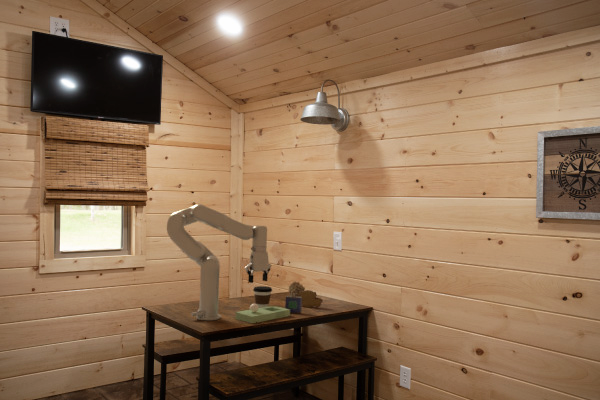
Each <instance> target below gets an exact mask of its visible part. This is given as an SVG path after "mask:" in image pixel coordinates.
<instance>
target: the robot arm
mask: <svg viewBox="0 0 600 400" xmlns="http://www.w3.org/2000/svg"><path fill="white" fill-rule="evenodd" d="M196 222H199V223H202V224H205V225H207V226H208V227H211V228H213V229H216V230H218V231H221V232H224V233H227V234H229V235H230V236H233V237H235V238H238V239H241V240H243V241H248V240H251V239H252V241H251V242H252V244H251V245H252V246H251V247H250V250H251V253H250V257H249V263H248V264H247V265H246V266H245V267H244V270H245V272H246V273H247V275H248V280H247V281H248V283H251V284H254V278H255V277H254V275H253V274H254V273H255V272H263V273H262V281H263V282H268V277H269V276H268V274H269V273H270V271H271V268H272V264H270V262H269V253H268V251H267V242H268V227H267V226H265V225H250V224H245V223H243V222H239V221H238V220H235V219H234V218H231V217H229V216H228V215H226V214H225V213H222V212H220V211H217V210H216V209H214V208H210V207H208V206H206V205H204V204H200V203H198V204H194V205H193V206H190V207H187V208H184V209H181V210H179V211H174V212H173V213H171V214H170V215H169V217H168V220H167V223H166V231H167V235H168V237H169V238H170V240H171V241H172V242H173V244H175V245H176V246H177V247H178V249H180V251H182V253H184V254H185V255H186V257H188V259H189V260H191V261H194V262H195V263H196V264H197V265H198V266H199V267H200V277H199V279H200V282H199V283H200V284H199V285H200V286H199V308H198V309H197V311H193V312H191V314H190V316H191V317H195V318H196V320H199V321H216V320H217V321H218V320H220V319H221V318H222V316H221V314H220V313H219V295H220V287H219V286H220V269H221V264H220V260H219V258H218V257H217V256H216V255H215V254H213V252H212V251H211V250H210V249H209V248H208V247H207V246H205V245H204V244H203V243H202V242H201V241H198V240H196V239H195V238H194V237H193V236H192V235H191V234H190V233H189V231H187V230H186V229H185V226H188V225H191V224H194V223H196Z"/></svg>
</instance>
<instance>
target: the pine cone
mask: <svg viewBox="0 0 600 400" xmlns="http://www.w3.org/2000/svg"><path fill="white" fill-rule="evenodd" d="M305 289H306V288H305V286H303V284H302V283H301V282H299V281H293V282H292V283H290V285H288V293H289V294H290V295H291V296H292V295H293V294H295V297H300V296H299V293H300V291H305Z"/></svg>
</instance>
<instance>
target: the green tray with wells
mask: <svg viewBox="0 0 600 400" xmlns="http://www.w3.org/2000/svg"><path fill="white" fill-rule="evenodd" d="M234 315H235V317H234V318H235V320H238V321H242V322H246V323H248V324H257V323H261V322H262V323H263V322H265V321H271V320H272V321H273V320H276V319H282V318H287V317H291V313H290V310H289V309H285V307H280V306H276V305H268V307H262V308H259V309H258V311H257V312H255V313H253V312H251V311H250V309H246V310H240V311H235V314H234ZM256 322H257V323H256Z"/></svg>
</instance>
